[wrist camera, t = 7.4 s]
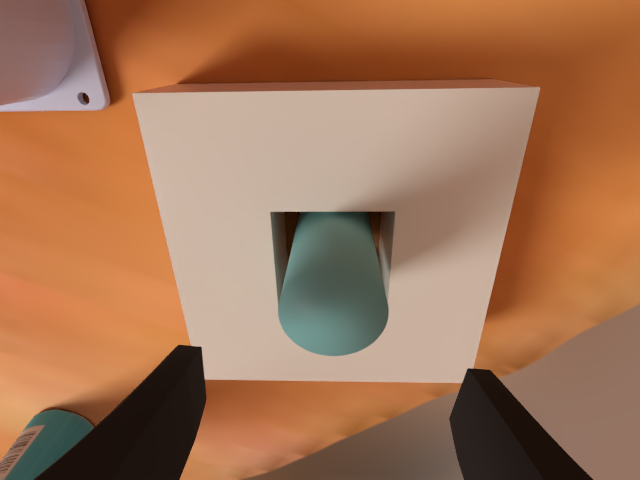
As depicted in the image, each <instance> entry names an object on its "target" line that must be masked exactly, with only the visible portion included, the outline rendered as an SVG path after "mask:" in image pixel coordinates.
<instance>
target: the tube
mask: <svg viewBox="0 0 640 480" xmlns="http://www.w3.org/2000/svg"><path fill="white" fill-rule="evenodd" d="M93 428H94V426H93V425H92V424H91V423H90V422H89V421H88V420H87V419H86V418H84V417H82V416H80V415H78V414H76V413H72V412H68V411H63V410H48V411H43V412H41V413H39V414H37V415H35V416H34V417H33V419H32V420H31V421H30V422H29V424H28V425H27V426H26V428H25V429H24V430H23V432H22V433H21V434H20V436H19V437H18V438H17V440H16V441H15V443H14V444H13V445H12V447H11V448H10V449H9V451H8V452H7V453H6V455H5V456H4V457H3V459H2V460H1V461H0V480H33V479H34V478H36V477H37V476H38V475H39V474H41V473H42V472H43V471H45V470H46V469H47V468H48V467H49V466H51V465H52V464H53V463H54V462H55V461H57V460H58V459H59V458H60V457H61V456H63V455H64V454H65V453H66V452H67V451H69V450H70V449H71V448H72V447H73V446H74V445H76V444H77V443H78V442H79V441H80V440H81V439H82V438H83V437H84V436H86V435H87V434H88V433H89V432H90V431H91V430H92V429H93Z"/></svg>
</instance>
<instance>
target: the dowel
mask: <svg viewBox="0 0 640 480" xmlns="http://www.w3.org/2000/svg"><path fill="white" fill-rule="evenodd" d="M388 315H389V308H388V302H387V297H386V293H385V288H384V284H383V279H382V275H381V270H380V265H379V261H378V256H377V252H376V247H375V243H374V238H373V234H372V229H371V224H370V220H369V215H368V211H363V212H300V214H299V218H298V222H297V227H296V231H295V235H294V240H293V244H292V248H291V253H290V257H289V261H288V266H287V270H286V274H285V279H284V283H283V287H282V292H281V296H280V300H279V305H278V316H279V321H280V324H281V326H282V328H283V330H284V332H285V333H286V335H287V336H288V337H289V338H290V339H291V340H292V341H293V342H294V343H296V344H297V345H298V346H300V347H301V348H303V349H305V350H307V351H310V352H312V353H316V354H320V355H325V356H343V355H348V354H352V353H356V352H358V351H361V350H363V349H365V348H366V347H368V346H370V345H371V344H372V343H374V342H375V341H376V340H377V339H378V338H379V336H380V335H381V334H382V332H383V331H384V329H385V327H386V324H387V321H388Z"/></svg>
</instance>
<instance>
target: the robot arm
mask: <svg viewBox="0 0 640 480" xmlns="http://www.w3.org/2000/svg"><path fill="white" fill-rule="evenodd" d="M83 93H85V94H87V95H88V97H89V103H87V102H85V101H84V99H83ZM109 104H110V96H109V92H108V89H107V85H106V81H105V77H104V73H103V69H102V66H101V62H100V58H99V54H98V50H97V46H96V43H95V39H94V35H93V31H92V27H91V23H90V20H89V16H88V12H87V8H86V4H85V0H0V112H3V111H80V110H102V109H106V108H107V107H108V106H109ZM205 403H206V389H205V378H204V367H203V357H202V347H198V346H186V345H178V346H177V347H176V348H175V349H174V350H173V351H172V352H171V353H170V354H169V355H168V356H167V357H166V358H165V359H164V360H163V361H162V362H161V363H160V364H159V365H158V366H157V367H156V368H155V369H154V371H153V372H152V373H151V374H150V375H149V376H148V377H147V378H146V379H145V380H144V381H143V382H142V383H141V384H140V385H139V386H138V387H137V388H136V389H135V390H134V391H133V392H132V393H131V394H130V395H129V396H128V397H126V398H125V399H124V400H123V401H122V402H121V403H120V404H119V405H118V406H117V407H116V408H115V409H114V410H113V411H112V412H111V413H110V414H109V415H108V416H107V417H106V418H105V419H103V420H102V421H101V422H100V423H99V424H98V425H97V426H96V427H94V428H93V429H92V430H91V431H90V432H89V433H88V434H87V435H86V436H84V437H83V438H82V439H81V440H80V441H79V442H78V443H77V444H76V445H74V446H73V447H72V448H71V449H70V450H69V451H67V452H66V453H65V454H64V455H63V456H61V457H60V458H59V459H58V460H57V461H55V462H54V463H53V464H52V465H51V466H49V467H48V468H47V469H46V470H45V471H43V472H42V473H41V474H39V475H38V476H37V477H36V478H34V479H33V480H179V479H180V477H181V474H182V472H183V469H184V467H185V464H186V461H187V459H188V456H189V454H190V451H191V449H192V446H193V444H194V441H195V438H196V435H197V432H198V428H199V425H200V421H201V418H202V414H203V410H204V407H205ZM449 419H450V424H451V429H452V434H453V440H454V445H455V449H456V453H457V458H458V462H459V465H460V468H461V471H462V474H463V478H464V480H593V479H592V478H591V477H590V476H589V475H588V474H587V473H586V472H585V471H584V470H583V469H582V468H581V467H580V466H579V465H578V464H577V463H576V462H575V461H574V460H573V459H572V458H571V457H570V456H569V455H568V454H567V453H566V452H565V451H564V450H563V449H562V448H561V447H560V446H559V445H558V443H557V442H556V441H555V440H554V439H553V438H552V437H551V436H550V435H549V434H548V433H547V432H546V431H545V430H544V429H543V428H542V426H541V425H540V424H539V423H538V422H537V421H536V420H535V419H534V418H533V417H532V416H531V414H530V413H529V412H528V411H527V410H526V409H525V408H524V407H523V406H522V405H521V403H520V402H518V400H517V399H516V398H515V397H514V396H513V395H512V393H511V392H510V391H509V390H508V389H507V388H506V387H505V386H504V385H503V383H502V382H501V381H500V380H499V379H498V378H497V377H496V376H495V375H494V374H493V373H492V372H491V370H483V369H471V368H468V369H467V371H466V374H465V377H464V380H463V382H462V385H461V388H460V391H459V394H458V396H457V399H456V402H455V405H454V407H453V410H452V413H451V416H450V418H449Z"/></svg>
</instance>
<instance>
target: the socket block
mask: <svg viewBox="0 0 640 480" xmlns="http://www.w3.org/2000/svg"><path fill="white" fill-rule="evenodd" d="M540 88H541V87H536V86H530V85H525V84H519V83H514V82H508V81H502V80H497V79H466V80H401V81H336V82H271V83H206V84H173V85H168V86H164V87H159V88H154V89H150V90H145V91H140V92H135V93H132V95H133V100H134V104H135V108H136V112H137V117H138V121H139V125H140V130H141V134H142V138H143V142H144V147H145V151H146V155H147V159H148V164H149V168H150V172H151V177H152V181H153V185H154V189H155V194H156V198H157V202H158V207H159V211H160V215H161V219H162V224H163V228H164V232H165V236H166V241H167V245H168V249H169V254H170V258H171V262H172V266H173V271H174V275H175V279H176V283H177V288H178V292H179V296H180V301H181V305H182V309H183V313H184V318H185V322H186V326H187V331H188V335H189V339H190V343H191V346H198V347H202V357H203V367H204V378H205V380H276V381H350V382H424V383H462V382H463V380H464V377H465V374H466V371H467V369H468V368H471V369H473V367H474V363H475V359H476V355H477V351H478V346H479V342H480V338H481V334H482V330H483V325H484V321H485V317H486V313H487V309H488V305H489V300H490V296H491V292H492V288H493V284H494V280H495V275H496V271H497V267H498V263H499V259H500V255H501V250H502V246H503V242H504V238H505V234H506V230H507V225H508V221H509V217H510V213H511V209H512V204H513V200H514V196H515V192H516V188H517V184H518V179H519V175H520V171H521V167H522V163H523V159H524V154H525V150H526V146H527V142H528V138H529V134H530V129H531V125H532V121H533V117H534V113H535V109H536V104H537V100H538V96H539V92H540ZM363 211H381V222H380V237H379V253H378V261H379V265H380V270H381V275H382V279H383V284H384V288H385V293H386V297H387V302H388V308H389V315H388V321H387V324H386V327H385V329H384V331H383V332H382V334H381V335H380V336H379V338H378V339H377V340H376V341H375V342H374V343H372V344H371V345H370V346H368V347H366V348H365V349H363V350H361V351H358V352H356V353H352V354H348V355H343V356H325V355H320V354H316V353H312V352H310V351H307V350H305V349H303V348H301V347H300V346H298V345H297V344H296V343H294V342H293V341H292V340H291V339H290V338H289V337H288V336H287V335H286V333H285V332H284V330H283V328H282V326H281V324H280V321H279V316H278V305H279V300H280V296H281V292H282V287H283V283H284V279H285V274H286V270H287V266H288V260H287V244H286V229H285V214H284V212H363Z"/></svg>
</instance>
